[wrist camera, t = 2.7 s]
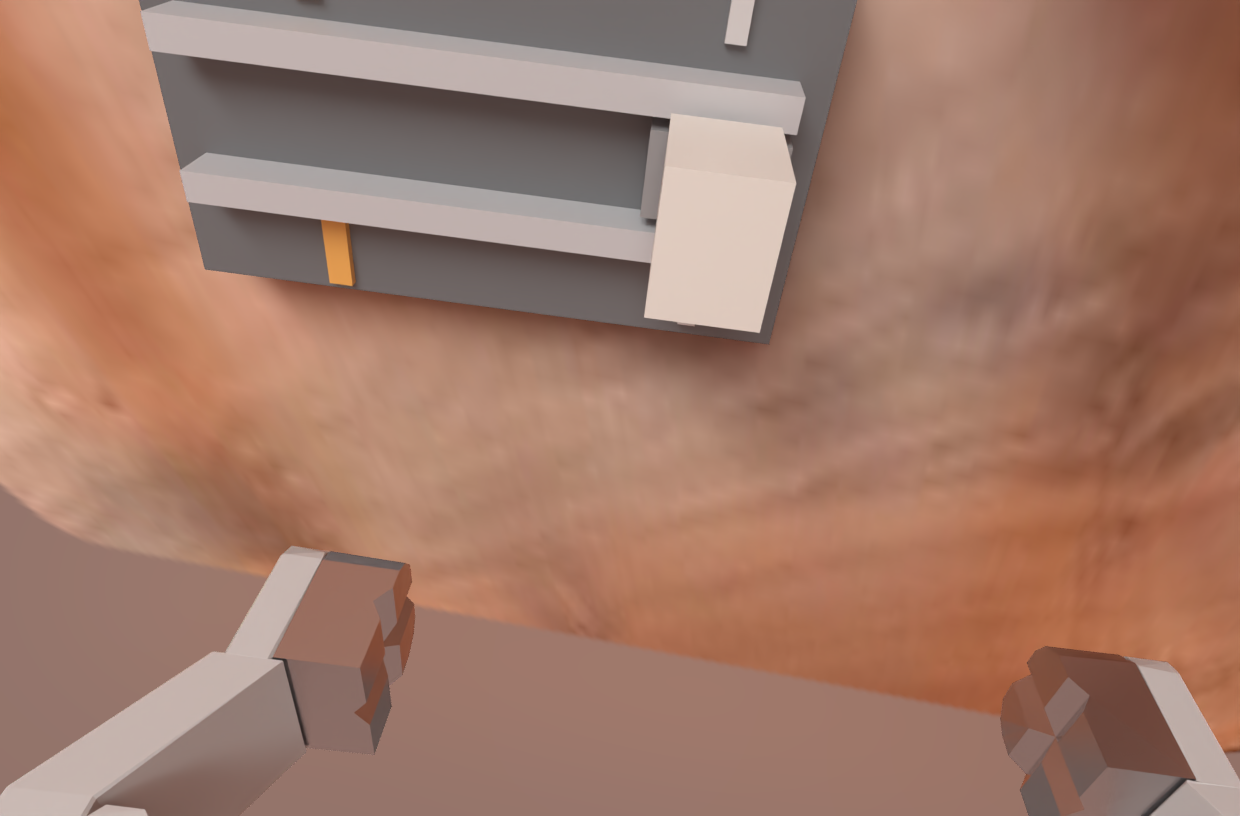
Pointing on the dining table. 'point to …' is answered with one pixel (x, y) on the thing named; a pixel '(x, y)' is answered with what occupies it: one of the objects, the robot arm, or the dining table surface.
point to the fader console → (473, 136)
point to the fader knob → (715, 218)
